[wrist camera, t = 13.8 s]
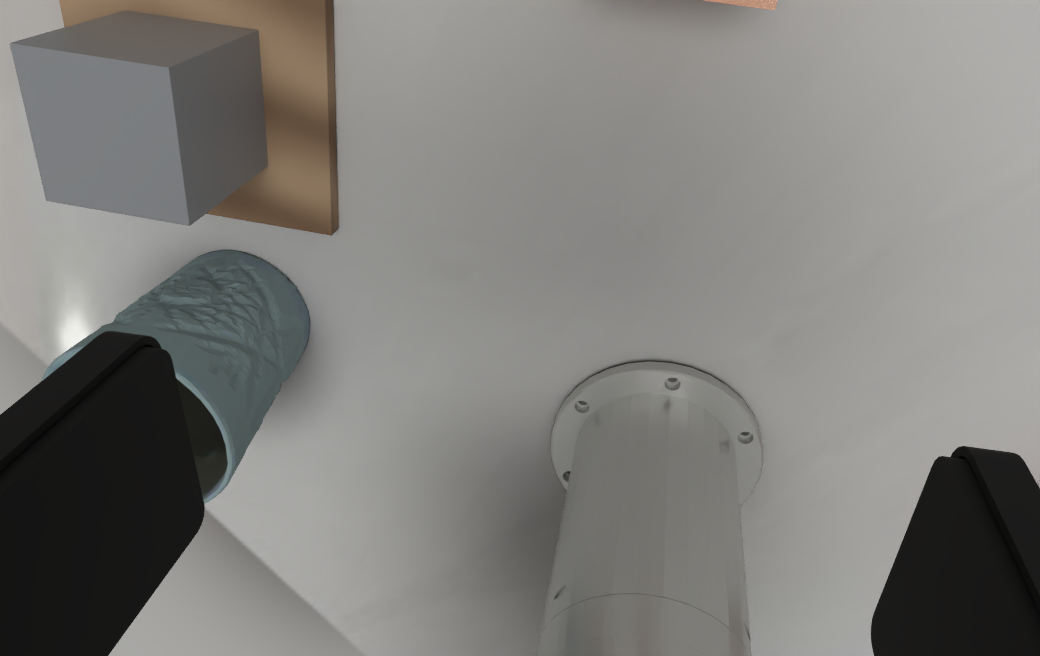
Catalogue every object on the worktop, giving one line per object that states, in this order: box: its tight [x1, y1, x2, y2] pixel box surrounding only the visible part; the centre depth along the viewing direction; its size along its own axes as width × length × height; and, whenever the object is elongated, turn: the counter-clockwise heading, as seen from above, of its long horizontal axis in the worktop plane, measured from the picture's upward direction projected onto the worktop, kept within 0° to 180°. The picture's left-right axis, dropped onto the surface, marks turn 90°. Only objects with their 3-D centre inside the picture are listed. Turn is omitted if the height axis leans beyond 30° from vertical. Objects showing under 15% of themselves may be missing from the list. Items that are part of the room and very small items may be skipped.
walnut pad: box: [59, 0, 338, 235], centre depth 41 cm, size 14×14×1 cm
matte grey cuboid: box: [10, 10, 268, 226], centre depth 38 cm, size 7×7×8 cm
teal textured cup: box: [42, 250, 310, 503], centre depth 44 cm, size 10×10×12 cm
